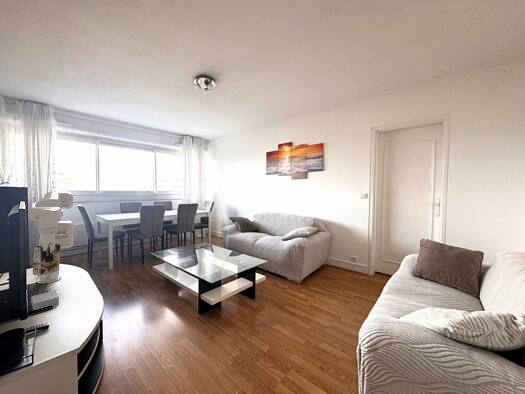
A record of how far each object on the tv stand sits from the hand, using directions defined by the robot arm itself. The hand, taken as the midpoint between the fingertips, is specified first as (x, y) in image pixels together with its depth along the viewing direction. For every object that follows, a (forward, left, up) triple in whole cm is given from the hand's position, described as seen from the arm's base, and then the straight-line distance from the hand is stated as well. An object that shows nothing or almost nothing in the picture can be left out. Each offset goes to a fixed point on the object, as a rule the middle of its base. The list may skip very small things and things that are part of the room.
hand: (46, 259), depth 120 cm
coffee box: (0, 0, -8) cm, 8 cm away
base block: (0, 0, -27) cm, 27 cm away
